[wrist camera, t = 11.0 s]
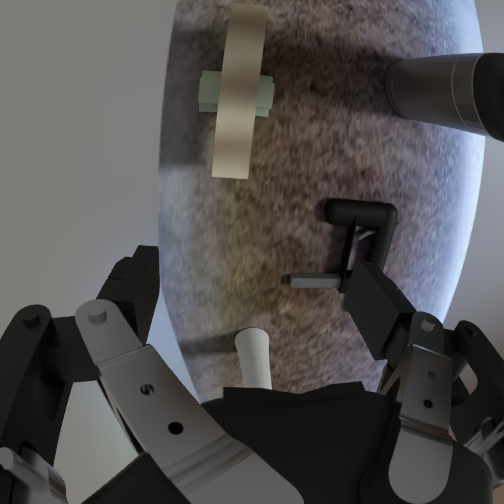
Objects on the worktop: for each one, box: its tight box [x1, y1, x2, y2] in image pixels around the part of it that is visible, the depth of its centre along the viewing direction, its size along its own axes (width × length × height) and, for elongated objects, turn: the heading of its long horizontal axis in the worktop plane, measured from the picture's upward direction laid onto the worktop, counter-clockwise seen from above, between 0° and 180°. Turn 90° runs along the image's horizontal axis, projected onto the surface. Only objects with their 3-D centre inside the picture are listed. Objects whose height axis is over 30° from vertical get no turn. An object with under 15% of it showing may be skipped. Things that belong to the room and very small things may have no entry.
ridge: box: [198, 71, 275, 117], centre depth 30 cm, size 5×8×4 cm, turn 84°
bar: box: [212, 3, 269, 179], centre depth 26 cm, size 18×4×4 cm, turn 174°
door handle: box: [289, 199, 399, 293], centre depth 43 cm, size 3×20×16 cm
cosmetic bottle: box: [235, 328, 272, 390], centre depth 40 cm, size 6×6×22 cm
